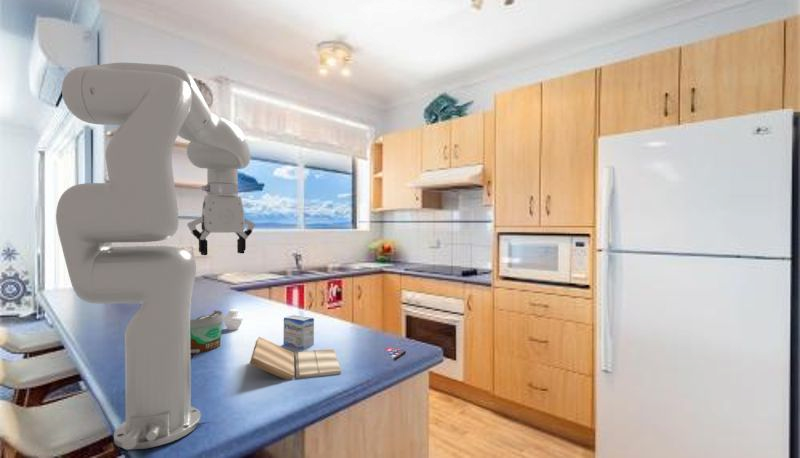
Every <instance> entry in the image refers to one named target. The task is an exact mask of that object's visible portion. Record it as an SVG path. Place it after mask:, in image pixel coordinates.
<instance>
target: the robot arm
mask: <svg viewBox="0 0 800 458" xmlns="http://www.w3.org/2000/svg"><path fill="white" fill-rule="evenodd" d="M61 95H62V100H63V102H64V105H65V106H66V108H67V109H68V110H69V111H70V113H71V114H72V115H73V116H75V117H76V118H77V119H79V120H81V121H82V122H85V123H88V124H91V125H92V124H93V125H103V126H104V125H105V126H106V125H107V126H119V127H118V128H117V130H116V131H115V132H114V133H113V135H112V137H111V138H110V140H109V142H108V143H107V145H106V148H105V154H104V155H105V164H106V170H107V176H108V182H106V183H105V182H86V183H85V182H84V183H78V184H75V185H73V186H70V187H69V188H67V189H66V190H65V191H64V192H63V193H62V194H61V196H60V197H59V200H58V202H57V207H56V213H55V221H56V223H55V224H56V227H57V232H58V233H57V234H58V237H59V241H60V245H61V248H62V253H63V257H64V261H65V264H66V269H67V271H68V272H67V273H68V277H69V280H70V283H71V287H72V290H73V292H74V293H75V294H76V296H77V297H78V298H79V299H80V300H82V301H83V302H85V303H89V304H105V305H106V304H141V307H140V308H139V310H138V311H137V312H136V314H135V315H134V316H133V317H132V318H131V319H130V321H129V323H128V324H127V326H126V329H125V331H124V332H125V333H124V374H125V376H124V391H125V393H124V394H125V395H124V396H125V401H124V402H125V406H124V407H125V408H124V409H125V421H123V422H122V423H121V424H120V425H119V426H118V427H117V428H116V429H115V430H114V433H113V442H114V444H115V445H116V446H117V447H119V448H122V449H124V450H126V451H127V450H129V451H130V450H145V449H152V448H155V447H160V446H163V445H167V444H169V443H172V442H175V441H177V440H179V439H181V438H183V437H185V436H187V435H189V434H190V433H192V432H193V431H194V430H195V429H196V428H197V427H198V426H199V425H200V421H201V417H202V415H201V411H200V410H199V409H198V408H196V407H195V406H192V405H191V403H192V402H191V400H192V398H191V397H192V396H191V394H192V391H191V390H192V388H191V387H192V386H191V385H192V384H191V382H192V381H191V374H192V373H191V367H192V366H191V365H192V364H191V355H190V320H191V312H192V311H191V310H192V296H193V292H194V287H195V286H194V285H195V281H196V274H197V264H196V260H195V258H194V256H193V255H192V254H191V253H190V252H189V251H187V250H185V249H184V248H181V247H176V246H171V245H170V246H168V245H138V246H137V245H136V246H113V245H112V243H150V242H151V243H152V242H159V241H160V242H161V241H165V240H169V239H170V238H172V237H173V236H174V235H175V234H177V231H178V229H179V208H178V200H177V193H176V192H177V191H176V185H175V178H174V172H173V163H172V161H173V160H172V156H173V155H172V154H173V150H174V146H175V142H176V140H177V137H180V138H182V139H184V140H186V141H188V143H187V146H186V155H187V157H188V160H189V162H190V163H191V164H192V165H193V166H195V167H196V168H199V169H206V170H207V171H206V174H207V175H206V176H207V177H206V178H207V180H206V181H207V183H206V185H202V186H201V191H203V192H206V195H204V198H203V203H202V210H201V217H198V218H196V219H193V220H192V221H189V222H188V223H187V225H186V226H187V227H188V229H189V231H190V232H191V234H192V235H193V237H195V238H196V239H197V240H198V252H199V253H200V255H201V256H207V255H208V240H207V239H206V238H207V237H208V236H210V234H211V233H217V234H218V233H221V234H223V233H227V234H228V233H230V234H231V233H235V235H236V236H237V237H238V239H237V240H236V241H237V245H236V247H237V254H244V253H245V251H246V250H247V249H246V245H247V243H246V242H247V239H248V237H249V236H250V235H251V234H252V232H253V230H254V228H255V227H256V224H255V222H252V221H251V220H249V219H248V218H245V213H244V205H243V200H242V196H239V195H238V194H239V191H238V190H239V189H238V188H239V186H238V185H239V184H238V183H239V182H238V179H239V178H238V175H239V173H238V171H239V170H241V169H245V168H247V167H248V165H249V164H250V162H251V151H250V146H249V143H248V141H247V139H246V137H245V134H244V133H243V130H242V129H240V127H238V126H237V125H236V124H234V123H233V122H231V121H229V120H227V119H226V118H224V117H222V116H220V115H218V114H216V113H214V112H212V111H211V110H210V108H209V107H210V106H208V104H207V102H206V100H205V99H204V97H203V94H202V93H201V91H200V89H199V87H198V85H197V83H196V81H195V80H194V79H193V77H192V76H191V75H190V74H189V73H188V72H187V71H186V70H184V69H182V68H180V67H179V66H174V65H169V64H157V63H155V64H154V63H151V64H150V63H138V62H113V63H112V62H111V63H103V64H96V65H95V64H93V65H84V66H78V67H75V68H72V69H70V71H69V72H68V73H66V75H65V76H64V78H63V81H62V85H61ZM199 224H200V226H201V227H200V228H201V232H200V231H199V230H198V229H197V227H196V226H198V225H199ZM245 226H247V227H246V229H245Z"/></svg>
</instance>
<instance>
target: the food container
mask: <svg viewBox="0 0 800 458" xmlns="http://www.w3.org/2000/svg"><path fill="white" fill-rule="evenodd" d="M224 317H225V315H224V313H223V311H221V310H215V309H214V310H213V313H210V314H209V315H208V314H207V315H202V316H200V317H197V318H195V319H190V357H192V356H196V354H198V353H199V354H200V353H205V352H210V351H212V350H216V349H218V348H220V346H221V337H222V328H223V322H224V320H225V319H224Z"/></svg>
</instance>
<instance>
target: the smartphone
mask: <svg viewBox="0 0 800 458" xmlns="http://www.w3.org/2000/svg"><path fill="white" fill-rule="evenodd" d="M384 349H385V351H386V352H387V354H389V355H390V357H391V358H392V360H393V361H396V360H398V359H399V358H401V357H402V356H403V355H405V354H406V350H405V349H402V348H401V349H399V348H393V347H384Z"/></svg>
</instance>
